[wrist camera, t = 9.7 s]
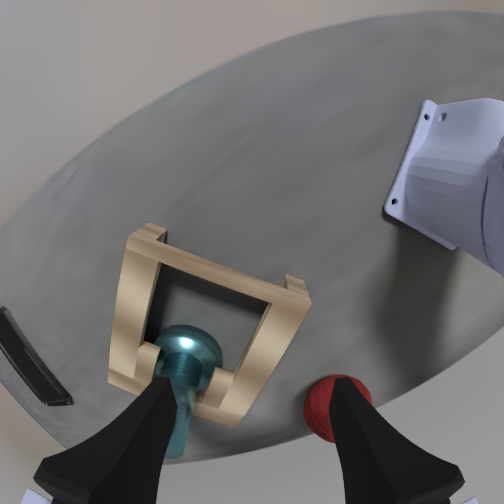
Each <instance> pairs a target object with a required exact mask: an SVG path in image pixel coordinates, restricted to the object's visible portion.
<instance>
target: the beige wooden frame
mask: <svg viewBox="0 0 504 504" xmlns="http://www.w3.org/2000/svg"><path fill="white" fill-rule="evenodd" d="M166 232H167V229H164V228H161V227H159V226H156V225H154V224H151V223H147V224H146V225H144V226H143V227H141V228H140V229H138V230H137V231H135V232H134V233H133V234H131V235H130V236H128V241H127V245H126V250H125V255H124V260H123V265H122V270H121V275H120V281H119V287H118V293H117V299H116V306H115V313H114V320H113V328H112V337H111V347H110V358H109V371H108V382H109V383H111V384H113V385H115V386H118V387H120V388H122V389H124V390H127V391H129V392H131V393H134V394H136V395H138V396H139V395H140V394H141V393H142V392H143V391H144V389H145V388H146V387H147V386H148V385H149V384H150V383H151V382H152V380H153V379H154V374H155V370H156V366H157V362H158V358H159V354H160V350H161V347H159V346H156V345H154V344H151V343H149V342H146V341H144V340H143V339H144V334H145V329H146V325H147V320H148V316H149V311H150V307H151V303H152V299H153V294H154V290H155V286H156V282H157V279H158V275H159V271H160V267H161V263H164V264H167V265H169V266H172V267H174V268H177V269H180V270H182V271H185V272H187V273H190V274H193V275H195V276H198V277H200V278H203V279H206V280H208V281H211V282H214V283H217V284H219V285H222V286H225V287H227V288H230V289H233V290H236V291H238V292H241V293H244V294H247V295H250V296H252V297H255V298H258V299H261V300H264V301H267V302H269V303H268V305H267V307H266V310H265V312H264V314H263V316H262V318H261V320H260V322H259V324H258V326H257V328H256V330H255V332H254V334H253V336H252V338H251V340H250V342H249V344H248V346H247V348H246V350H245V352H244V354H243V356H242V358H241V360H240V362H239V364H238V366H237V368H236V370H235V372H234V373H233V372H229V371H226V370H223V369H220V368H217V367H215V369H214V371H213V373H212V376H211V378H210V380H209V382H208V385H207V387H206V389H205V391H204V393H203V395H200V394H197V396H196V400H195V405H194V409H193V413H192V415H194V416H197V417H200V418H203V419H207V420H210V421H214V422H217V423H221V424H225V425H229V426H233V427H237V426H238V424H239V423H240V421H241V420H242V418H243V417H244V415H245V414H246V412H247V411H248V409H249V408H250V406H251V405H252V403H253V402H254V400H255V399H256V397H257V396H258V394H259V393H260V391H261V390H262V388H263V386H264V385H265V383H266V382H267V380H268V378H269V377H270V375H271V374H272V372H273V370H274V369H275V367H276V365H277V364H278V362H279V361H280V359H281V357H282V356H283V354H284V352H285V351H286V349H287V347H288V345H289V344H290V342H291V340H292V339H293V337H294V335H295V333H296V332H297V330H298V328H299V326H300V325H301V323H302V321H303V319H304V317H305V316H306V314H307V312H308V310H309V308H310V307H311V305H312V304H311V301H310V298H309V295H308V292H307V289H306V286H305V283H304V281H303V280H300V279H297V278H295V277H292V276H289V275H287V274H285V276H284V278H283V280H282V282H281V284H280V286H277V285H274V284H271V283H268V282H266V281H263V280H260V279H257V278H255V277H252V276H249V275H246V274H244V273H241V272H238V271H236V270H233V269H230V268H227V267H225V266H222V265H219V264H217V263H214V262H211V261H209V260H206V259H203V258H201V257H198V256H196V255H193V254H190V253H188V252H185V251H182V250H180V249H177V248H175V247H172V246H170V245H167V244H164V243H163V242H164V239H165V235H166Z"/></svg>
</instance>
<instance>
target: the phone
mask: <svg viewBox="0 0 504 504" xmlns="http://www.w3.org/2000/svg"><path fill="white" fill-rule="evenodd" d="M0 349H1V350H2V352H3V353H4V355H5V356H6V358H7V359H8V360H9V362H10V363H11V365H12V366H13V367H14V369H15V370H16V371H17V373H18V374H19V375H20V377H21V378H22V379H23V380H24V382H25V383H26V384H27V385H28V387H29V388H30V389H31V390H32V391H33V393H34V394H35V395H36V396H37V397H38V398H39V400H40V401H41V402H42V403H44V404H45V405H47V406H62V405H70V403H71V402H72V397H71V395H70V394H69V393H68V392H67V391H66V390H65V388H64V387H63V386H62V385H61V384H60V383H59V381H58V380H57V379H56V378H55V377H54V375H53V374H52V373H51V372H50V370H49V369H48V368H47V366H46V365H45V364H44V362H43V361H42V360H41V358H40V357H39V356H38V354H37V353H36V352H35V350H34V349H33V347H32V346H31V345H30V343H29V342H28V340H27V339H26V337H25V336H24V334H23V333H22V331H21V330H20V328H19V326H18V325H17V323H16V322H15V320H14V318H13V317H12V315H11V313H10V312H9V310H8V309H7V308H6V307H4V306H3V307H1V308H0Z"/></svg>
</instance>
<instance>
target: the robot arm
mask: <svg viewBox="0 0 504 504" xmlns="http://www.w3.org/2000/svg"><path fill="white" fill-rule="evenodd" d="M424 115H426V116H427V120H425V118H424ZM394 198H395V200H396V201H395V204H393V205H392V200H393V199H394ZM384 211H385V212H386V213H387V214H389V215H391V216H392V217H394V218H396V219H398V220H400V221H402V222H403V223H405V224H407V225H409V226H411V227H412V228H414V229H416V230H418V231H420V232H421V233H423V234H425V235H426V236H428V237H430V238H432V239H433V240H435V241H437V242H438V243H440V244H442V245H443V246H445V247H447V248H448V249H450V250H454V249H455V248H456V247H458V248H460V249H462V250H463V251H465V252H467V253H468V254H470V255H471V256H473V257H475V258H476V259H478V260H479V261H481V262H483V263H484V264H486V265H487V266H489V267H490V268H492V269H493V270H495V271H497V272H498V273H500V274H501V275H502V276H503V277H504V102H503V101H500V100H495V99H489V98H482V99H475V100H468V101H461V102H455V103H449V104H443V105H436V104H435V103H434V102H432V101H431V100H426V101H424V102H423V105H422V108H421V111H420V114H419V117H418V120H417V123H416V126H415V129H414V132H413V135H412V137H411V140H410V143H409V146H408V148H407V151H406V154H405V156H404V159H403V161H402V164H401V166H400V169H399V171H398V174H397V176H396V179H395V181H394V184H393V186H392V188H391V191H390V193H389V195H388V198H387V200H386V202H385V205H384ZM177 408H178V406H177V402H176V399H175V396H174V392H173V389H172V385H171V382H170V378H169V377H159V376H156V377H155V378H154V379H153V380H152V382H151V383H150V384H149V385H148V386H147V387H146V388H145V389H144V391H143V392H142V393H141V394H140V395H139V396H138V397H137V398H136V399H135V400H134V401H133V402H132V403H131V404H130V405H129V406H128V407H127V408H126V409H125V410H124V411H123V412H122V413H121V414H120V415H119V416H118V417H117V418H116V419H114V420H113V421H112V422H111V423H110V424H109V425H107V426H106V427H105V428H103V429H102V430H101V431H99V432H98V433H96V434H95V435H93V436H92V437H90V438H89V439H87V440H85V441H84V442H82V443H80V444H78V445H76V446H74V447H72V448H70V449H68V450H66V451H64V452H61V453H58V454H55V455H53V456H50V457H46V458H43V460H42V462H41V464H40V466H39V468H38V469H37V471H36V474H35V475H34V477H33V478H34V481H35V482H36V483H37V484H38V485H39V486H40V487H41V488H43V489H44V490H45V491H46V492H48V493H49V494H50V495H51V496H53V497H54V498H53V500H52V501H50V500H49V499H47V498H45V497H43V496H42V495H40V494H38V493H36V492H35V491H33V490H31V489H30V488H28V489H27V491H26V493H25V495H24V498H23V500H22V502H21V504H156V498H157V491H158V484H159V478H160V472H161V468H162V464H163V460H164V457H165V454H166V451H167V448H168V445H169V441H170V438H171V435H172V432H173V429H174V425H175V420H176V414H177ZM329 415H330V423H331V428H332V432H333V436H334V440H335V444H336V447H337V451H338V455H339V459H340V463H341V467H342V472H343V480H344V489H345V500H346V504H450V503H451V502H450V500H449V497H450V496H452V495H453V494H454V493H455V492H456V491H458V490H459V489H460V488H461V487H462V486H463V484H464V483H465V481H464V478H463V476H462V473H461V471H460V469H459V468H458V466H457V465H454V464H452V463H449V462H447V461H444V460H442V459H440V458H437V457H436V456H434V455H432V454H430V453H428V452H426V451H425V450H423V449H421V448H420V447H418V446H417V445H415V444H414V443H412V442H411V441H409V440H408V439H407V438H405V437H404V436H403V435H402V434H400V433H399V432H398V431H397V430H396V429H395V428H393V427H392V426H391V425H390V424H389V423H388V422H387V421H386V420H385V419H384V418H383V417H382V416H381V415H380V414H379V413H378V412H377V411H376V409H375V408H374V407H373V406H372V405H371V404H370V402H369V401H368V400H367V399H366V398H365V396H364V395H363V394H362V393H361V391H360V390H359V389H358V388H357V386H356V385H355V384H354V382H353V381H352V380H351V378H350V377H342V378H335V382H334V387H333V391H332V395H331V399H330V403H329ZM461 504H478V501H477V498H476V497H472V498H471V499H469V500H467V501H465V502H463V503H461Z"/></svg>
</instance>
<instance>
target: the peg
mask: <svg viewBox="0 0 504 504" xmlns="http://www.w3.org/2000/svg"><path fill="white" fill-rule="evenodd" d="M154 345H156V346H159V347H161V350H160V354H159V358H158V362H157V366H156V370H155V373H156V375H157V376H159V377H169V378H170V382H171V385H172V389H173V392H174V396H175V399H176V402H177V406H178V408H177V414H176V420H175V425H174V429H173V432H172V435H171V438H170V441H169V445H168V448H167V451H166V454H165V457H164V458H165V459H177V458H180V457H182V456H183V453H184V449H185V444H186V440H187V435H188V431H189V426H190V422H191V418H192V413H193V409H194V405H195V400H196V396H197V392H198V390H202V389H205V388H206V387H207V385H208V382H209V380H210V378H211V376H212V373H213V371H214V369H215V367H217V368H221V362H222V351H221V348H220V346H219V344H218V343H217V341H216V340H215V339H214V338H213V337H212V336H211V335H209V334H208V333H207V332H205V331H203V330H201V329H199V328H196V327H193V326H189V325H173V326H170V327H167V328H165V329H164V330H162V331H161V332H160V333H159V334H158V336H157V338H156V340H155V342H154Z"/></svg>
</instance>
